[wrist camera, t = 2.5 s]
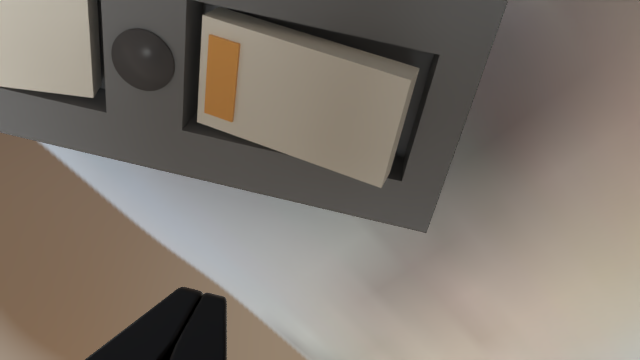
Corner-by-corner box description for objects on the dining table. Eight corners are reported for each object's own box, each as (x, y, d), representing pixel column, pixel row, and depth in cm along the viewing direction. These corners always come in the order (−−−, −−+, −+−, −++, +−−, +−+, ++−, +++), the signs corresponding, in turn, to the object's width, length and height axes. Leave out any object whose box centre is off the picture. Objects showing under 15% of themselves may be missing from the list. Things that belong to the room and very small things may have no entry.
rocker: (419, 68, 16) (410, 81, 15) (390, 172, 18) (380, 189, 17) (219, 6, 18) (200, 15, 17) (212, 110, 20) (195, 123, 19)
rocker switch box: (497, -27, 18) (508, 3, 15) (427, 184, 22) (426, 234, 20) (-118, -159, 19) (-206, -152, 16) (-66, 70, 23) (-128, 104, 21)
